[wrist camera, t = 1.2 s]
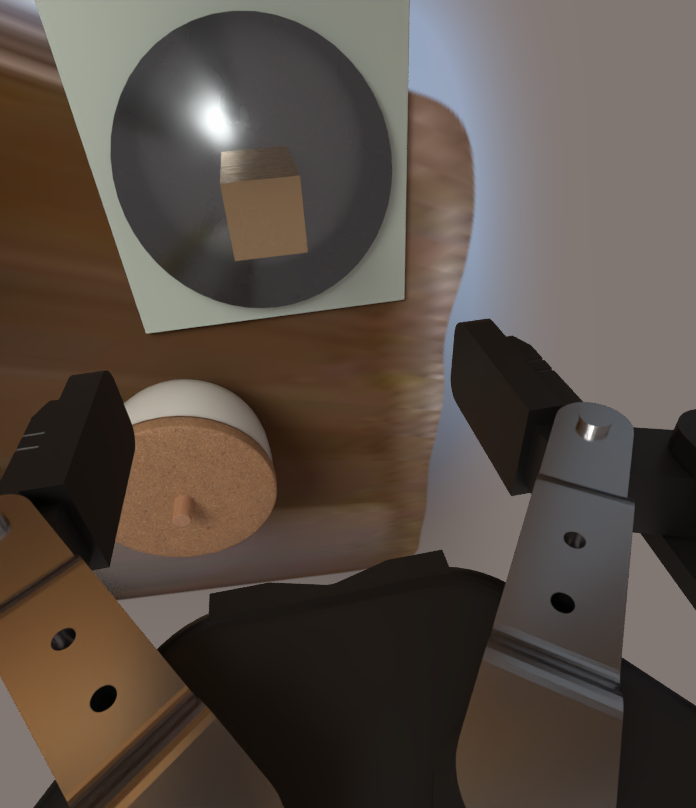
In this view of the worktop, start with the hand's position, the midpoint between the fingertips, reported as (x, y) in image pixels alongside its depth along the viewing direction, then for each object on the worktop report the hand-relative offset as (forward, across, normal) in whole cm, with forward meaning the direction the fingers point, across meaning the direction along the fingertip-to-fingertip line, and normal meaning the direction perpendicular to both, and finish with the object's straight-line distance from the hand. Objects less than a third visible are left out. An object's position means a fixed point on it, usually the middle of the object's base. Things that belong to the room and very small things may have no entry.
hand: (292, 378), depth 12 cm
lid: (+19, 0, 0) cm, 19 cm away
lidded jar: (+19, +7, +15) cm, 25 cm away
